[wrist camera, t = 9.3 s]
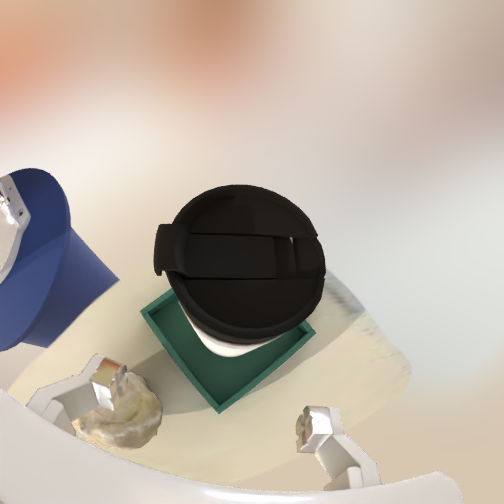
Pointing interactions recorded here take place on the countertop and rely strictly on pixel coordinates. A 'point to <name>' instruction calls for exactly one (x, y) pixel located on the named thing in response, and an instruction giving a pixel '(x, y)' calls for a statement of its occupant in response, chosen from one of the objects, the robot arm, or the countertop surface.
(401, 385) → the countertop surface
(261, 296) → the travel mug
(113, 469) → the robot arm
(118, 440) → the garlic bulb
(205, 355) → the tray
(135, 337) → the countertop surface
